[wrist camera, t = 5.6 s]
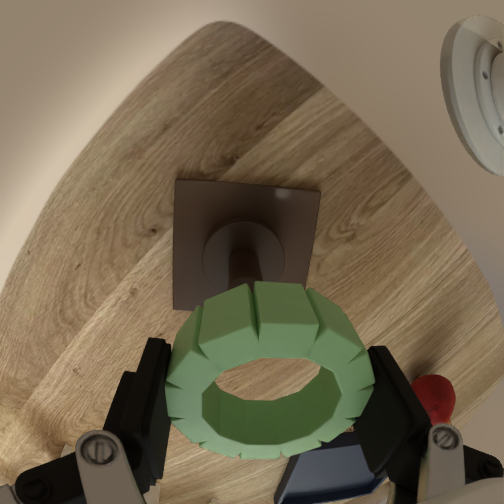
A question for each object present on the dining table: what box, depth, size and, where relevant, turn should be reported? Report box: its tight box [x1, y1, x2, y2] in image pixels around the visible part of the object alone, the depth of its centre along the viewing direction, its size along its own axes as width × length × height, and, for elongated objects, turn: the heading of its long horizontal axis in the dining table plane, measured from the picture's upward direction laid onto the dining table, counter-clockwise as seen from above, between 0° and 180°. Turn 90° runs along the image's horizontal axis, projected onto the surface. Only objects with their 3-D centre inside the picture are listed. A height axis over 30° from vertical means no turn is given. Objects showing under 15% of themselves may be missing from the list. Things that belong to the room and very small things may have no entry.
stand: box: [173, 179, 321, 311], centre depth 19 cm, size 10×10×7 cm
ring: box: [165, 281, 375, 459], centre depth 10 cm, size 7×7×2 cm
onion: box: [411, 374, 456, 426], centre depth 26 cm, size 6×6×8 cm
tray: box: [274, 432, 388, 504], centre depth 34 cm, size 17×19×2 cm
